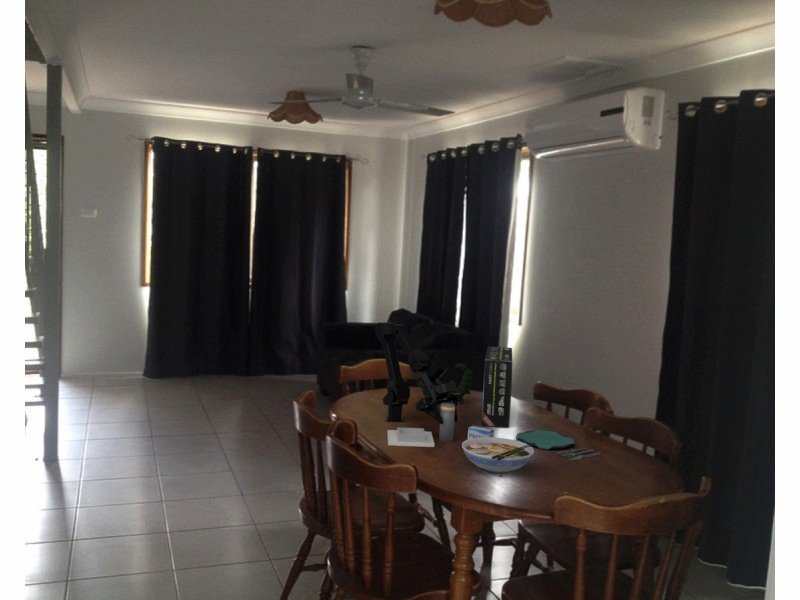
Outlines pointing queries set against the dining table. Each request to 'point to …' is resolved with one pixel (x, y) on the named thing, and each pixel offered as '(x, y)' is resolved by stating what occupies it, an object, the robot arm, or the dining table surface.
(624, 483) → the dining table surface
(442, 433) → the grey can
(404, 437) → the socket plate
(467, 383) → the toy figurine
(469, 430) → the medicine box
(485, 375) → the router box
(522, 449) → the ramen bowl
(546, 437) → the cutlery set
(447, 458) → the dining table surface
